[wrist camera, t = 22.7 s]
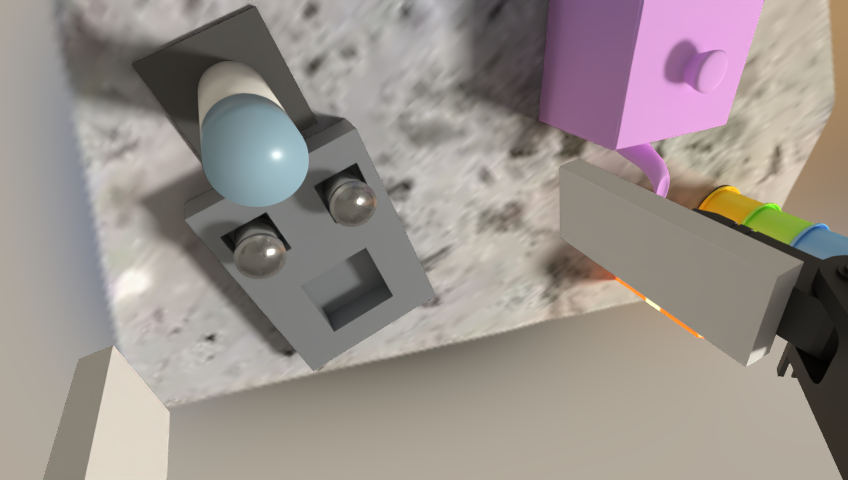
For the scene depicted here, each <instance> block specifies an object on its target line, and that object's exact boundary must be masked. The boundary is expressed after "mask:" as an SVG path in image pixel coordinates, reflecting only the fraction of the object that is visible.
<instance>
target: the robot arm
mask: <svg viewBox="0 0 848 480" xmlns="http://www.w3.org/2000/svg"><path fill="white" fill-rule="evenodd" d="M559 171H560V238H562V239H563V240H564V241H566V242H567V243H569V244H570V245H572V246H573V247H574V248H576V249H577V250H579V251H580V252H582V253H583V254H584V255H586V256H587V257H589V258H590V259H592V260H593V261H594V262H596V263H597V264H599V265H600V266H602V267H603V268H604V269H606V270H607V271H609V272H610V273H612V274H613V275H614V276H616V277H617V278H619V279H620V280H622V281H623V282H624V283H626V284H627V285H629V286H630V287H632V288H633V289H635V290H636V291H637V292H639V293H640V294H642V295H643V296H645V297H646V298H647V299H649V300H650V301H652V302H653V303H655V304H656V305H657V306H659V307H660V308H662V309H663V310H665V311H666V312H667V313H669V314H670V315H672V316H673V317H675V318H676V319H677V320H679V321H680V322H682V323H683V324H685V325H686V326H687V327H689V328H690V329H692V330H693V331H695V332H696V333H697V334H699V335H700V336H702V337H703V338H705V339H706V340H708V341H709V342H710V343H712V344H713V345H715V346H716V347H718V348H719V349H721V350H722V351H723V352H725V353H726V354H728V355H729V356H730V357H732V358H733V359H735V360H736V361H738V362H739V363H740V364H742V365H744V366H745V367H747V366H749V365H750V364H752V363H754V362H755V361H757V360H758V359H760V358H762V357H763V356H765V355H766V354H768V353H769V352H770V349H771V346H772V344H773V341H774V338H775V336H776V334H777V335H778V336H780V337H781V338H783V339H785V340H787V341H788V343H787V345H786V348H785V350H784V352H783V355H782V357H781V360H780V362H779V365H778V367H777V373H778V376H782V377H783V376H784V374H785V372H786V370H787V367H788V365H789V364H790V363H791V365H792V367H793V373H792V376H791V377H793V378H797V379H798V381H799V383H800V385H801V388H802V390H803V392H804V394H805V396H806V398H807V401H808V403H809V405H810V408H811V410H812V412H813V414H814V416H815V419H816V421H817V423H818V425H819V428H820V430H821V432H822V434H823V436H824V439H825V441H826V443H827V445H828V448H829V450H830V452H831V454H832V456H833V459H834V461H835V463H836V465H837V467H838V470H839V472H840V474H841V476H842V478H843V480H848V255H839V256H831V257H829V258H826V259H824V260H822V259H820V258H817V257H815V256H813V255H810V254H808V253H806V252H803V251H801V250H799V249H797V248H794V247H792V246H790V245H788V244H785V243H783V242H781V241H779V240H776V239H774V238H772V237H770V236H767V235H765V234H763V233H761V232H758V231H757V232H754V230H753V229H752V228H749V227H747V226H745V225H743V224H740V225H739V224H738V223H737V222H736V221H734V220H731V219H729V218H727V217H725V216H722V215H720V214H718V213H714V212H709V211H705V210H700V209H696V208H694V209H692V210H690V209H688V208H686V207H684V206H681V205H679V204H677V203H675V202H673V201H671V200H668V199H666V198H664V197H662V196H660V195H658V194H655V193H653V192H651V191H649V190H647V189H645V188H642V187H640V186H638V185H636V184H634V183H632V182H629V181H627V180H625V179H623V178H621V177H619V176H616V175H614V174H612V173H610V172H608V171H606V170H603V169H601V168H599V167H597V166H595V165H592V164H590V163H588V162H586V161H584V160H582V159H576V160H574V161H571V162H569V163H566V164H564V165H561V166H559ZM169 420H170V413H169V411H168V410H167V409H166V408H165V407H164V405H163V404H162V403H161V402H160V401H159V399H158V398H157V397H156V396H155V395H154V393H153V392H152V391H151V390H150V389H149V388H148V386H147V385H146V384H145V383H144V382H143V380H142V379H141V378H140V377H139V376H138V374H137V373H136V372H135V371H134V370H133V368H132V367H131V366H130V365H129V364H128V362H127V361H126V360H125V359H124V358H123V356H122V355H121V354H120V353H119V352H118V351H117V349H116V348H115V347H114V346H111V347H108V348H105V349H103V350H100V351H98V352H95V353H93V354H90V355H88V356H85V357H83V358H80V359H79V360H78V363H77V366H76V370H75V373H74V377H73V380H72V383H71V386H70V390H69V393H68V397H67V400H66V403H65V407H64V411H63V414H62V417H61V420H60V424H59V427H58V431H57V434H56V437H55V441H54V444H53V447H52V451H51V454H50V458H49V461H48V464H47V468H46V471H45V475H44V478H43V480H167V461H168V441H169Z"/></svg>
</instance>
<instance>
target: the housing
mask: <svg viewBox="0 0 848 480" xmlns="http://www.w3.org/2000/svg"><path fill="white" fill-rule="evenodd" d="M304 141H305V143H306V146H307V149H308V155H309V165H308V170H307V174H306V176H305V179H304V181H303V182H302V184H301V186H300V187H299V188H298V189H297V190H296V191H295V192H294V193H293V194H292V195H291V196H290V197H288V198H287V199H285V200H283V201H281V202H279V203H277V204H274V205H270V206H265V207H249V206H244V205H240V204H237V203H234V202H232V201H230V200H228V199H226V198H225V197H223V196H222V195H220V194H219V193H218V192H217V191H216V190H215V189H214V188H213V189H211V190H209V191H207V192H205V193H203V194H201V195H199V196H198V197H196V198H194V199H192V200H190V201H188V202H186V203H185V217H184V220H185V221H186V223H187V224H188V225H189V226H190V227H191V228H192V230H193V231H194V232H195V233H196V234H197V235H198V237H199V238H200V239H201V240H202V241H203V243H204V244H205V245H206V246H207V247H208V248H209V250H210V251H211V252H212V253H213V254H214V255H215V257H216V258H217V259H218V260H219V261H220V262H221V264H222V265H223V266H224V267H225V268H226V269H227V271H228V272H229V273H230V274H231V275H232V276H233V278H234V279H235V280H236V281H237V282H238V283H239V285H240V286H241V287H242V288H243V289H244V290H245V292H246V293H247V294H248V295H249V296H250V297H251V299H252V300H253V301H254V302H255V303H256V304H257V306H258V307H259V308H260V309H261V310H262V311H263V313H264V314H265V315H266V316H267V317H268V318H269V320H270V321H271V322H272V323H273V324H274V326H275V327H276V328H277V329H278V330H279V331H280V333H281V334H282V335H283V336H284V337H285V338H286V340H287V341H288V342H289V343H290V344H291V345H292V347H293V348H294V349H295V350H296V351H297V352H298V354H299V355H300V356H301V357H302V358H303V359H304V361H305V362H306V363H307V364H308V365H309V366H310V368H311V369H312V370H313V371H314V370H316V369H317V368H319V367H320V366H322V365H324V364H325V363H327V362H329V361H330V360H332V359H333V358H335V357H337V356H338V355H340V354H342V353H343V352H345V351H346V350H348V349H350V348H351V347H353V346H354V345H356V344H358V343H359V342H361V341H363V340H364V339H366V338H367V337H369V336H371V335H372V334H374V333H376V332H377V331H379V330H380V329H382V328H384V327H385V326H387V325H388V324H390V323H392V322H393V321H395V320H397V319H398V318H400V317H401V316H403V315H405V314H406V313H408V312H410V311H411V310H413V309H414V308H416V307H418V306H419V305H421V304H422V303H424V302H426V301H427V300H429V299H431V298H432V297H434V296H435V293H434V291H433V288H432V286H431V284H430V282H429V280H428V278H427V276H426V274H425V272H424V270H423V267H422V265H421V263H420V261H419V259H418V257H417V255H416V253H415V251H414V249H413V246H412V244H411V242H410V240H409V238H408V236H407V234H406V232H405V230H404V228H403V225H402V223H401V221H400V219H399V217H398V215H397V213H396V211H395V209H394V207H393V204H392V202H391V200H390V198H389V196H388V194H387V192H386V190H385V188H384V186H383V183H382V181H381V179H380V177H379V175H378V173H377V171H376V169H375V167H374V165H373V163H372V160H371V158H370V156H369V154H368V152H367V150H366V148H365V146H364V144H363V142H362V139H361V137H360V135H359V133H358V131H357V129H356V128H355V127H354V126H353V125H352V124H351V123H350V122H349V121H348V120H346V119H343V120H341V121H339V122H337V123H336V124H334V125H332V126H330V127H328V128H326V129H324V130H322V131H320V132H319V133H317V134H315V135H313V136H311V137H309V138H307V139H305V140H304ZM344 169H346V170H349V171H351V172H353V173H354V174H355V175H356V176H357V177H358V179H359V180H360V181H361V182H363V183H365V184H367V185H368V186H369V187H370V188H371V189H372V190H373V191H374V193H375V195H376V198H377V208H376V211H375V213H374V215H373V216H372V217H371V218H370V220H368V221H367V222H366V223H364V224H362V225H360V226H357V227H346V226H343V225H341V224H339V223H338V222H336V221H335V219H334V218H333V216H332V215H331V213H330V209H329V203H328V202H327V200H326V198H325V197H324V195H323V192H322V184H323V181H324V180H325V179H327V178H329V177H331V176H333V175H335V174H336V173H338V172H340V171H342V170H344ZM256 217H261V218H264V219H266V220H268V221H270V222H271V223H272V225H273V226H274V228H275V231H276V234H277V237H278V239H279V240H281V242H282V243H283V245H284V247H285V249H286V253H287V259H286V262H285V265H284V267H283V268H282V269H281V270H280V271H279V272H278V273H277V274H275V275H274V276H272V277H269V278H266V279H251V278H248V277H246V276H244V275H242V274H241V273H240V272H239V271H238V270H237V268H236V266H235V263H234V251H235V248H236V245H235V239H234V231H235V229H236V228H238V227H240V226H242V225H243V224H245V223H247V222H249V221H251V220H253V219H254V218H256Z"/></svg>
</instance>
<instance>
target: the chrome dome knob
mask: <svg viewBox="0 0 848 480" xmlns="http://www.w3.org/2000/svg"><path fill="white" fill-rule="evenodd" d="M234 239H235V245H236V248H235V251H234V263H235V266H236V268H237V270H238V271H239V272H240V273H241V274H242V275H244V276H246V277H248V278H251V279H266V278H269V277H272V276H274V275H275V274H277V273H278V272H279V271H280V270H281V269H282V268H283V267H284V265H285V262H286V259H287V253H286V249H285V247H284V245H283V243H282V242H281V240H279V239H278V237H277V234H276V231H275V228H274V226H273V225H272V223H271V222H270V221H268V220H266V219H264V218H261V217H256V218H254V219H253V220H251V221H249V222H247V223H245V224H243V225H242V226H240V227H238V228H236V229H235V231H234Z"/></svg>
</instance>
